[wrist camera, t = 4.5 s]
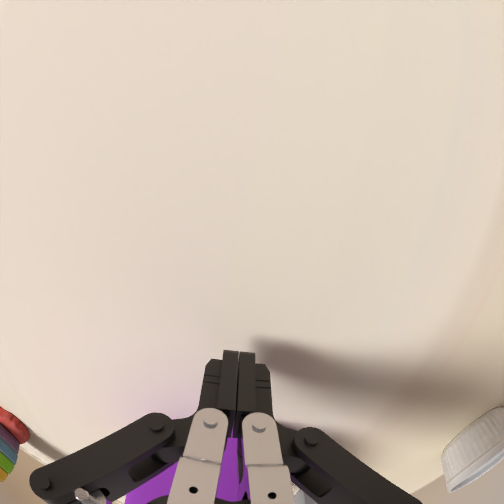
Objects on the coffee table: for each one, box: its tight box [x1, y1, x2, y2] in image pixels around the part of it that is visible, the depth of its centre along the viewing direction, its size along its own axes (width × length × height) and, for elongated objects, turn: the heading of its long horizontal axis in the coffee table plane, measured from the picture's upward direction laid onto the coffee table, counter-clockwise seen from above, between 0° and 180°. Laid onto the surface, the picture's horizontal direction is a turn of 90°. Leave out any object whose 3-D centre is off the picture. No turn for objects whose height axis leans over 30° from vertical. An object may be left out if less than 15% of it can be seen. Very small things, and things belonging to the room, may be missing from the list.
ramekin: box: [441, 407, 504, 493], centre depth 19 cm, size 13×13×7 cm
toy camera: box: [125, 428, 238, 504], centre depth 14 cm, size 11×14×10 cm
